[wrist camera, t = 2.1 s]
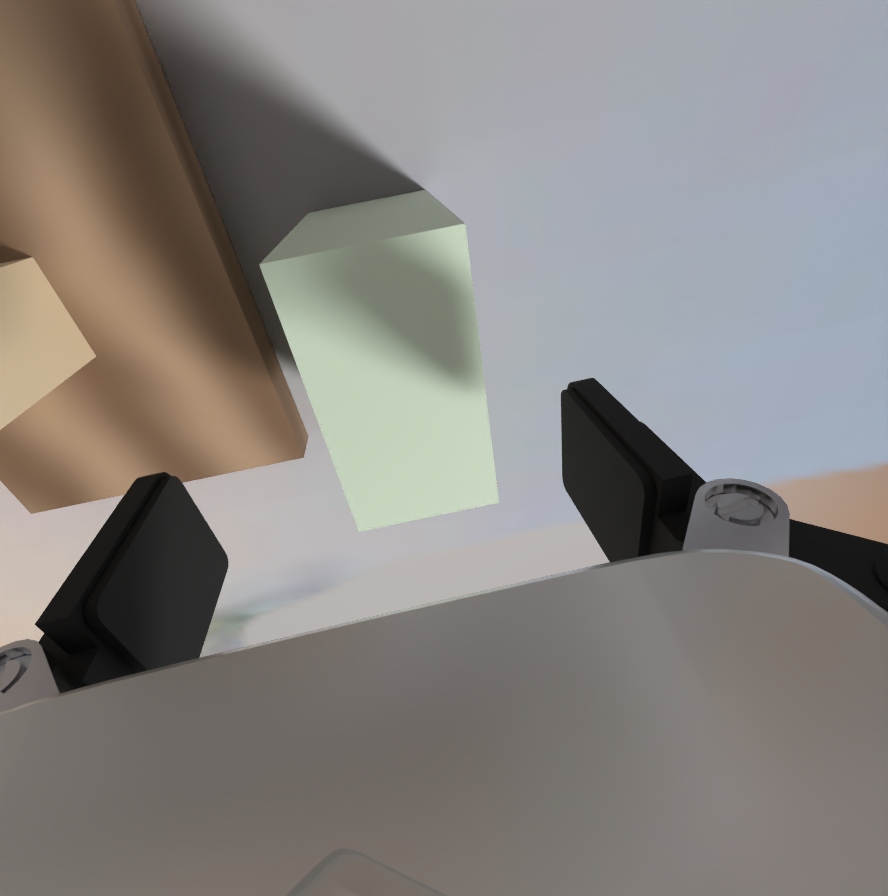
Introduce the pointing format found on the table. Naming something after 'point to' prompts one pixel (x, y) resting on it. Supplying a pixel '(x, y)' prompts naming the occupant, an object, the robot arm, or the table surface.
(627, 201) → the table surface
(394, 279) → the carton
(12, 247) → the shelf board
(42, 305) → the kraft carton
